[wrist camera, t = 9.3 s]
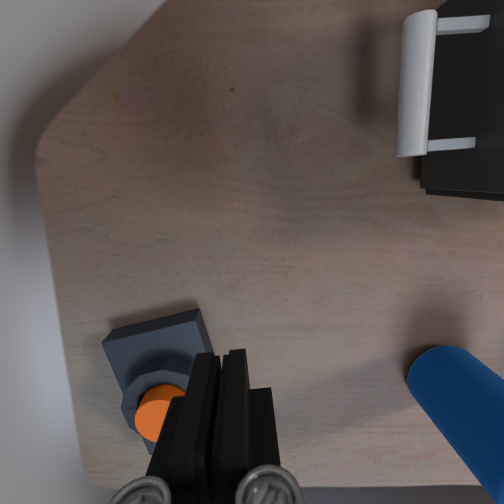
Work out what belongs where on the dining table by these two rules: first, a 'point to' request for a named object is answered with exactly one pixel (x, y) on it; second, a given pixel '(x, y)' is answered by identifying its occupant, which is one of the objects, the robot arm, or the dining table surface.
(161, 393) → the button
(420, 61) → the drawer
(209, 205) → the dining table surface
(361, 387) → the dining table surface
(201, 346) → the control block
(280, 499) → the robot arm
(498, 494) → the beverage can
